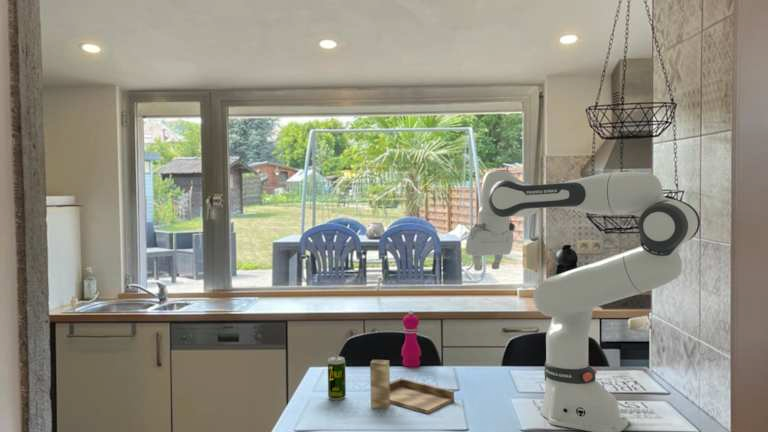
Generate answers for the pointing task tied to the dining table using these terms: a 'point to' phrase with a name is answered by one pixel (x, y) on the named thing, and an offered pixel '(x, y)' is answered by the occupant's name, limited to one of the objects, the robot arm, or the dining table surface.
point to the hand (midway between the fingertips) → (486, 269)
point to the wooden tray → (419, 395)
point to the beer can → (336, 378)
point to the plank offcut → (380, 383)
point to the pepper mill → (411, 341)
